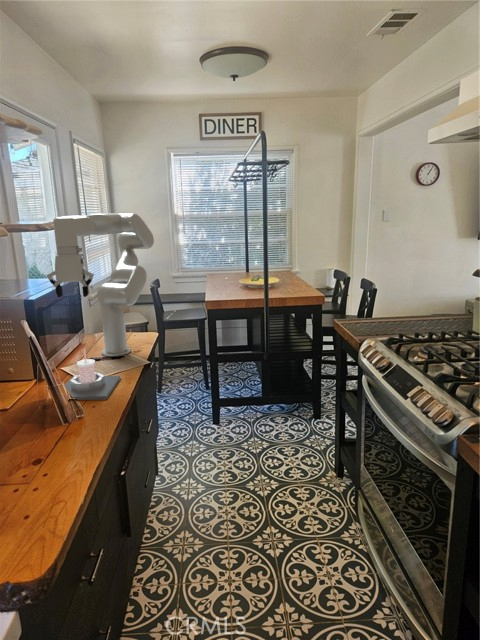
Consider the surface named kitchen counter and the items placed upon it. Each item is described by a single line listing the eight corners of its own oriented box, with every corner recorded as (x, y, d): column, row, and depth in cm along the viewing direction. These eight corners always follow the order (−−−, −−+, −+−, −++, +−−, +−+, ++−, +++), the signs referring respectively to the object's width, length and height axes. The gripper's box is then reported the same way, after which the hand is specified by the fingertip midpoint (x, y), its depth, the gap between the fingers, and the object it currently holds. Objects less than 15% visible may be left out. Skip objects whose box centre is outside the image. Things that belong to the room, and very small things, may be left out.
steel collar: (78, 380, 151) (78, 372, 150) (107, 379, 151) (106, 372, 150) (67, 392, 141) (66, 384, 140) (98, 391, 141) (97, 383, 140)
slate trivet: (72, 379, 155) (72, 376, 154) (120, 378, 155) (120, 375, 155) (52, 400, 137) (52, 397, 137) (106, 399, 138) (106, 396, 137)
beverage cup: (77, 389, 143) (73, 351, 139) (80, 382, 148) (76, 346, 145) (96, 388, 144) (92, 350, 140) (98, 381, 150) (94, 345, 146)
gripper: (94, 250, 155) (98, 294, 160) (48, 250, 155) (54, 294, 159) (87, 251, 148) (92, 298, 152) (39, 252, 148) (45, 298, 152)
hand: (73, 296), depth 156 cm, fingers open, 9 cm apart
